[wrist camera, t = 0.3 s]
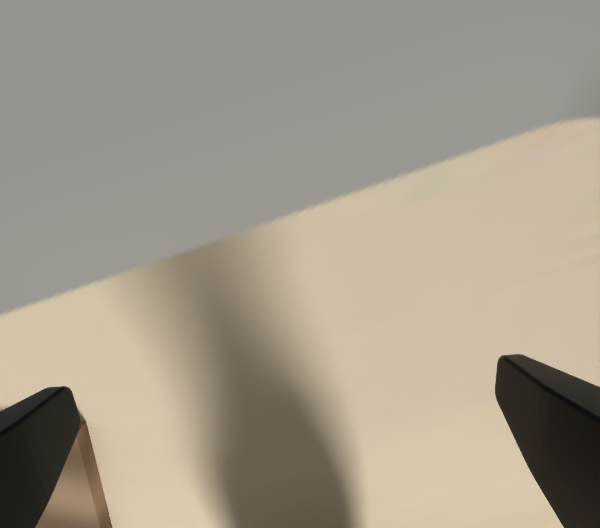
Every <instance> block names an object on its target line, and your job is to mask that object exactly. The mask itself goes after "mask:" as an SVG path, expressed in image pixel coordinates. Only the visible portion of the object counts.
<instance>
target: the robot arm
mask: <svg viewBox="0 0 600 528" xmlns="http://www.w3.org/2000/svg"><path fill="white" fill-rule="evenodd" d="M495 395H496V399H497V402H498V404H499V406H500V408H501V410H502V412H503V415H504V417H505V419H506V421H507V423H508V425H509V427H510V430H511V432H512V434H513V436H514V438H515V440H516V442H517V445H518V447H519V449H520V451H521V453H522V455H523V457H524V459H525V461H526V463H527V465H528V467H529V469H530V471H531V473H532V475H533V476H534V478H535V480H536V482H537V483H538V485H539V487H540V488H541V490H542V492H543V493H544V495H545V497H546V498H547V500H548V502H549V503H550V505H551V507H552V508H553V510H554V512H555V513H556V515H557V517H558V518H559V520H560V522H561V523H562V525H563V527H564V528H600V387H598V386H596V385H593V384H591V383H589V382H586V381H584V380H581V379H579V378H577V377H574V376H572V375H569V374H567V373H565V372H562V371H560V370H558V369H555V368H553V367H550V366H548V365H546V364H543V363H541V362H538V361H536V360H534V359H531V358H529V357H526V356H524V355H521V354H514V355H503V356H501V357H500V358H499V360H498V363H497V373H496V384H495ZM79 428H80V416H79V413H78V410H77V406H76V403H75V400H74V397H73V393H72V391H71V390H70V388H68V387H66V386H61V387H49V388H46V389H43V390H41V391H40V392H38V393H36V394H34V395H32V396H30V397H28V398H26V399H24V400H22V401H20V402H18V403H16V404H14V405H12V406H10V407H8V408H6V409H5V410H3V411H1V412H0V528H36V526H37V524H38V522H39V520H40V518H41V516H42V514H43V512H44V510H45V508H46V506H47V504H48V503H49V500H50V498H51V496H52V494H53V491H54V489H55V487H56V484H57V482H58V480H59V477H60V475H61V472H62V470H63V468H64V465H65V463H66V460H67V458H68V456H69V453H70V451H71V448H72V446H73V444H74V441H75V439H76V436H77V434H78V431H79Z"/></svg>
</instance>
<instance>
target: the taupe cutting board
mask: <svg viewBox="0 0 600 528" xmlns="http://www.w3.org/2000/svg"><path fill="white" fill-rule="evenodd" d="M36 528H112V526H111V522H110V518H109V514H108V510H107V506H106V502H105V498H104V494H103V489H102V485H101V481H100V477H99V473H98V469H97V465H96V461H95V457H94V453H93V449H92V445H91V441H90V437H89V433H88V429H87V425H86V422H80V428H79V431H78V434H77V436H76V439H75V441H74V444H73V446H72V448H71V451H70V453H69V456H68V458H67V460H66V463H65V465H64V468H63V470H62V472H61V475H60V477H59V480H58V482H57V484H56V487H55V489H54V491H53V494H52V496H51V498H50V500H49V503H48V504H47V506H46V508H45V510H44V512H43V514H42V516H41V518H40V520H39V522H38V524H37V526H36Z"/></svg>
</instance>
